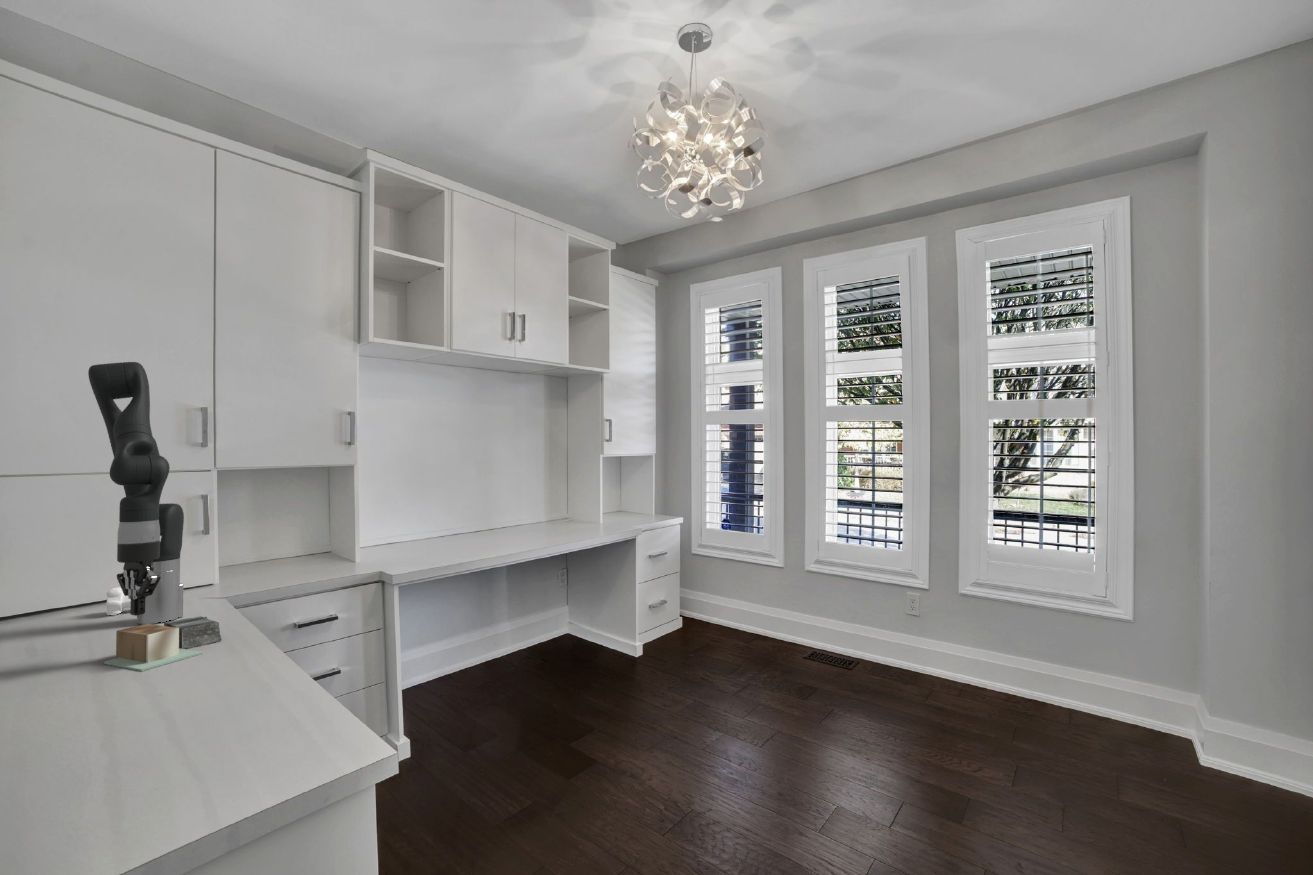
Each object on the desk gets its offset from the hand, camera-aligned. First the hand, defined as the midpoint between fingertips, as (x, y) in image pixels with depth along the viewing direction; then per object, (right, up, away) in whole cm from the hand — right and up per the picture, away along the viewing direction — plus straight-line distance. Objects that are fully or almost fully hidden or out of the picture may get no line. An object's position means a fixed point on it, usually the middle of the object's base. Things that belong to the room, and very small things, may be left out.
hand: (137, 614), depth 137 cm
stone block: (+5, -10, +11) cm, 16 cm away
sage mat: (+6, -9, -3) cm, 12 cm away
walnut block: (-2, -6, +1) cm, 6 cm away
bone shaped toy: (-36, -12, +42) cm, 57 cm away
